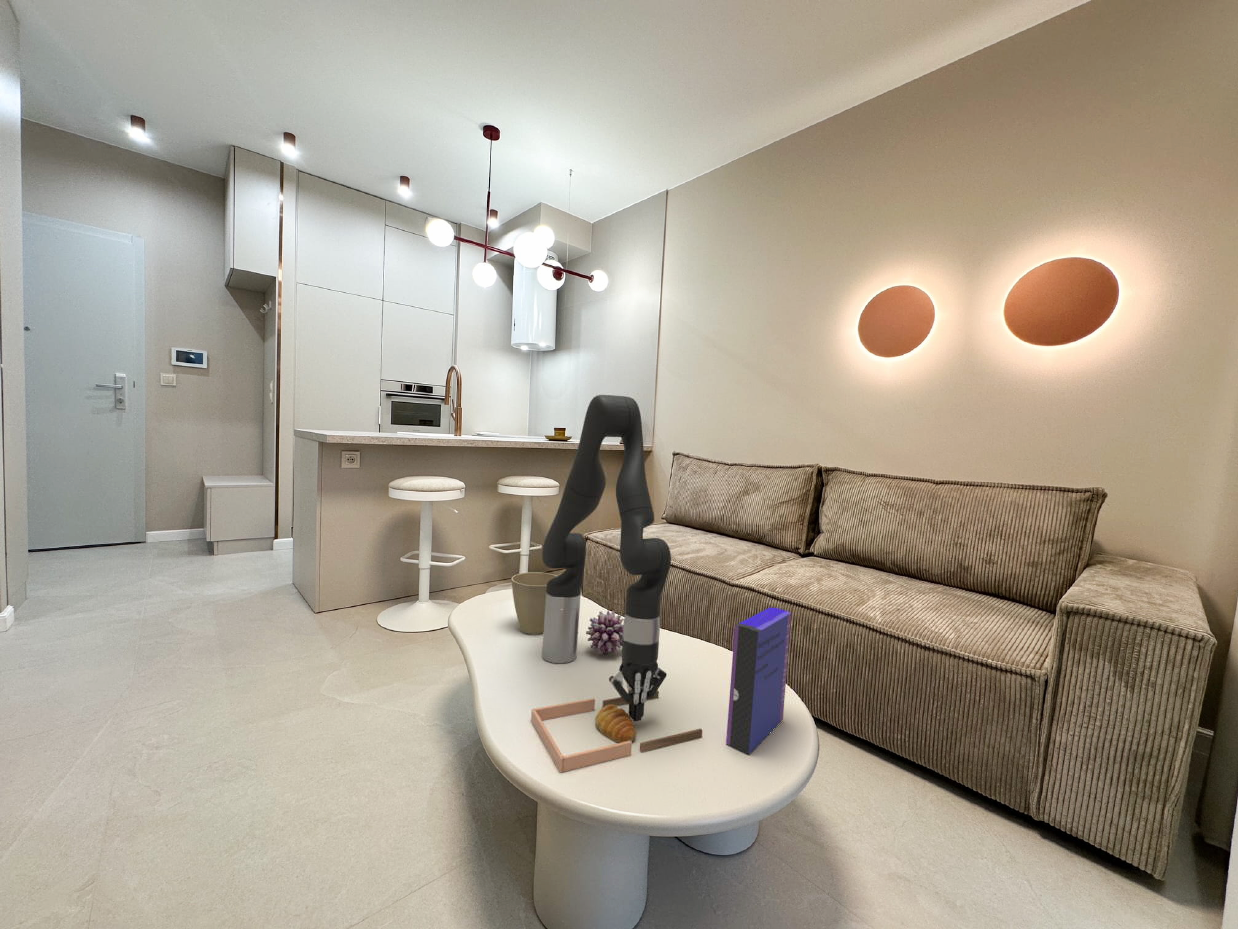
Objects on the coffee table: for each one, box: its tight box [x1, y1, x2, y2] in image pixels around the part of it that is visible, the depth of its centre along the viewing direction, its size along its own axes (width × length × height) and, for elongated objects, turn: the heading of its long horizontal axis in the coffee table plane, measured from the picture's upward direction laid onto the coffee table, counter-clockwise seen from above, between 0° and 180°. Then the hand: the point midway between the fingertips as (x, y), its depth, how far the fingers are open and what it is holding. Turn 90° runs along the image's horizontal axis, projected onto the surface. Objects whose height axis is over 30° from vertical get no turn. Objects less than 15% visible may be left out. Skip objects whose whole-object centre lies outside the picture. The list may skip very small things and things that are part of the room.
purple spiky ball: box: [585, 610, 624, 655], centre depth 136 cm, size 12×12×12 cm
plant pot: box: [511, 571, 558, 635], centre depth 149 cm, size 15×15×16 cm
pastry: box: [595, 704, 637, 744], centre depth 98 cm, size 9×7×4 cm
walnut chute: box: [602, 689, 703, 753], centre depth 103 cm, size 17×14×2 cm
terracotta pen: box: [530, 697, 633, 774], centre depth 95 cm, size 17×14×2 cm
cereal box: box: [725, 606, 792, 756], centre depth 101 cm, size 17×5×24 cm, turn 141°
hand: (635, 719), depth 101 cm, fingers closed
